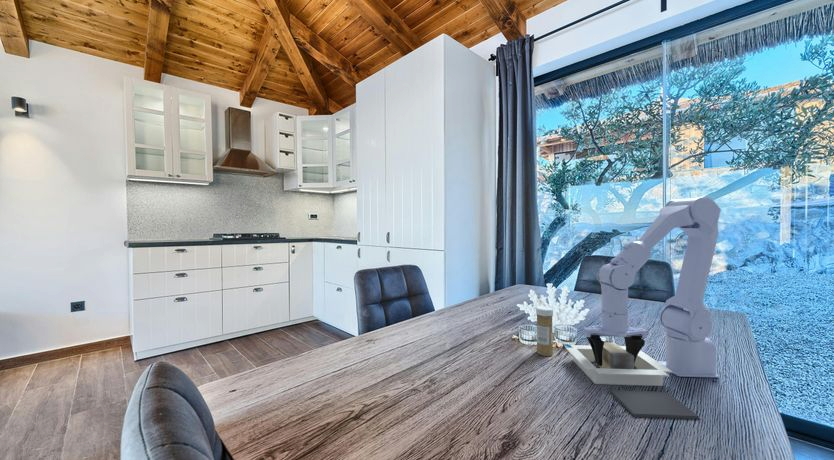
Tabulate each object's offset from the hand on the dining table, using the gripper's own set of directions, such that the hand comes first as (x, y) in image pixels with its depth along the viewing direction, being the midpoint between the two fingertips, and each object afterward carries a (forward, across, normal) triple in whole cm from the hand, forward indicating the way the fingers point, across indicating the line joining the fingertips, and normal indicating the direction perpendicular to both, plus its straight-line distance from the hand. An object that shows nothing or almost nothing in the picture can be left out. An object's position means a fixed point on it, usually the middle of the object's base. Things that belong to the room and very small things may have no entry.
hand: (614, 364), depth 83 cm
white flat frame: (+2, 0, 0) cm, 2 cm away
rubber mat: (+2, 0, -15) cm, 15 cm away
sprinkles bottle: (+2, -14, +11) cm, 18 cm away
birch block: (+2, 0, 0) cm, 2 cm away
